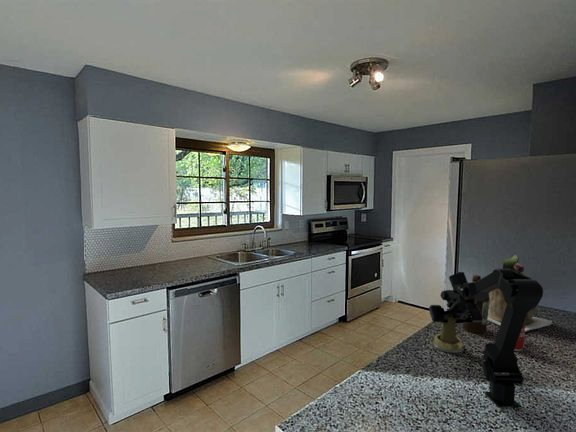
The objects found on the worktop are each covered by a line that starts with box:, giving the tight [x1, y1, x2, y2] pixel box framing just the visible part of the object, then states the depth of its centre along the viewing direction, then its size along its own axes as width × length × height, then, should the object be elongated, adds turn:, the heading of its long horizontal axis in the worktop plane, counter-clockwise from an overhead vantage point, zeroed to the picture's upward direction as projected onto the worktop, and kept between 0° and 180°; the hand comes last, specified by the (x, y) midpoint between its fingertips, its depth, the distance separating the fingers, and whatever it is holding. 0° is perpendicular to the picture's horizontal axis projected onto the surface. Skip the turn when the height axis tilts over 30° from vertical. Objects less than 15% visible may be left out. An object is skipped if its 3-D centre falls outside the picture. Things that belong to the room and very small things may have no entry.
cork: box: [440, 318, 457, 343], centre depth 132 cm, size 6×6×11 cm
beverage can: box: [514, 324, 526, 352], centre depth 131 cm, size 6×6×12 cm
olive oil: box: [462, 274, 490, 335], centre depth 149 cm, size 11×11×25 cm
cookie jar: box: [487, 254, 553, 332], centre depth 160 cm, size 25×25×32 cm
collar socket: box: [432, 333, 464, 355], centre depth 132 cm, size 11×11×3 cm
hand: (447, 322), depth 133 cm, fingers closed on cork, 5 cm apart
